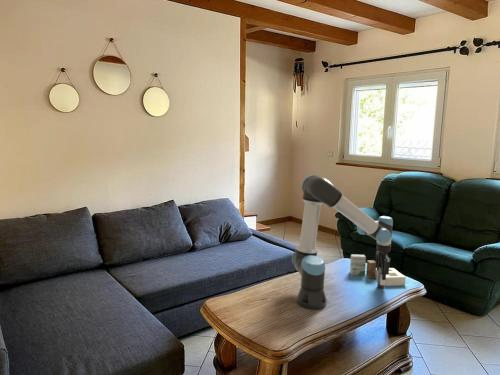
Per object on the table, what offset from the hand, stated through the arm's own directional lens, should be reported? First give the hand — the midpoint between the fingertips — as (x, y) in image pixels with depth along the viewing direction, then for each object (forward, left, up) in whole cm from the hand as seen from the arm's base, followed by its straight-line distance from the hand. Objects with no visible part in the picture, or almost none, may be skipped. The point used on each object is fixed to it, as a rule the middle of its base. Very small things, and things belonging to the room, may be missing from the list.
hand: (380, 283), depth 208 cm
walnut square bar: (+1, +15, -3) cm, 15 cm away
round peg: (0, 0, -3) cm, 3 cm away
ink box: (-5, +21, -3) cm, 22 cm away
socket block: (+10, +9, -3) cm, 14 cm away
